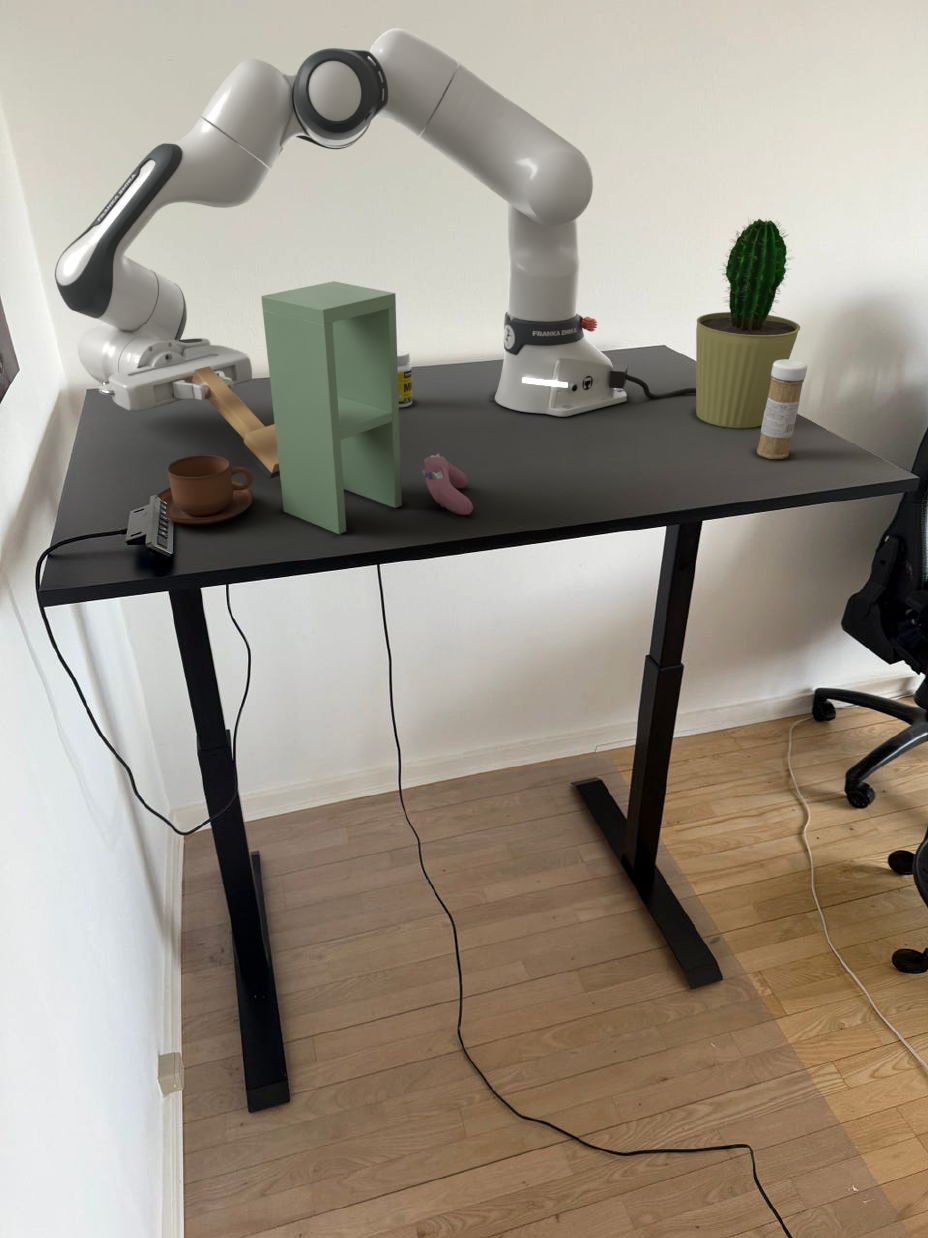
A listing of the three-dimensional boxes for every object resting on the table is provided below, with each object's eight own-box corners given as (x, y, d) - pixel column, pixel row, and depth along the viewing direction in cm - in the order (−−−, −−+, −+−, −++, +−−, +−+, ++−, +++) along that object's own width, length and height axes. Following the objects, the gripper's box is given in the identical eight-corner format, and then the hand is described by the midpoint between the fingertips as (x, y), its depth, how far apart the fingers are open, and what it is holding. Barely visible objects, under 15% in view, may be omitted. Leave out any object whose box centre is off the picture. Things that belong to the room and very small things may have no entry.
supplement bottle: (408, 409, 146) (407, 357, 142) (380, 407, 147) (378, 355, 142) (415, 400, 150) (414, 349, 146) (388, 398, 151) (386, 348, 146)
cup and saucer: (225, 485, 118) (219, 441, 115) (272, 514, 111) (267, 468, 108) (139, 509, 112) (130, 463, 108) (183, 542, 104) (174, 493, 101)
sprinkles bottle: (773, 447, 132) (791, 356, 125) (795, 457, 129) (815, 365, 122) (749, 452, 131) (766, 360, 124) (770, 462, 127) (789, 368, 120)
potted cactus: (801, 426, 140) (846, 220, 125) (718, 437, 136) (753, 224, 120) (743, 397, 153) (777, 206, 137) (665, 406, 148) (691, 210, 133)
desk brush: (181, 384, 119) (185, 367, 117) (215, 375, 123) (219, 358, 121) (269, 480, 115) (274, 464, 113) (301, 468, 119) (307, 452, 117)
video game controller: (438, 497, 120) (414, 453, 116) (469, 482, 119) (445, 437, 115) (443, 529, 111) (417, 483, 108) (476, 513, 110) (451, 466, 107)
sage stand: (283, 511, 112) (260, 295, 98) (347, 485, 119) (333, 280, 105) (339, 534, 106) (323, 309, 93) (402, 505, 114) (395, 292, 100)
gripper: (86, 364, 118) (145, 383, 111) (212, 335, 132) (273, 350, 124) (96, 410, 122) (155, 432, 114) (219, 377, 135) (278, 395, 128)
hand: (217, 389), depth 119 cm, fingers closed on desk brush, 2 cm apart
